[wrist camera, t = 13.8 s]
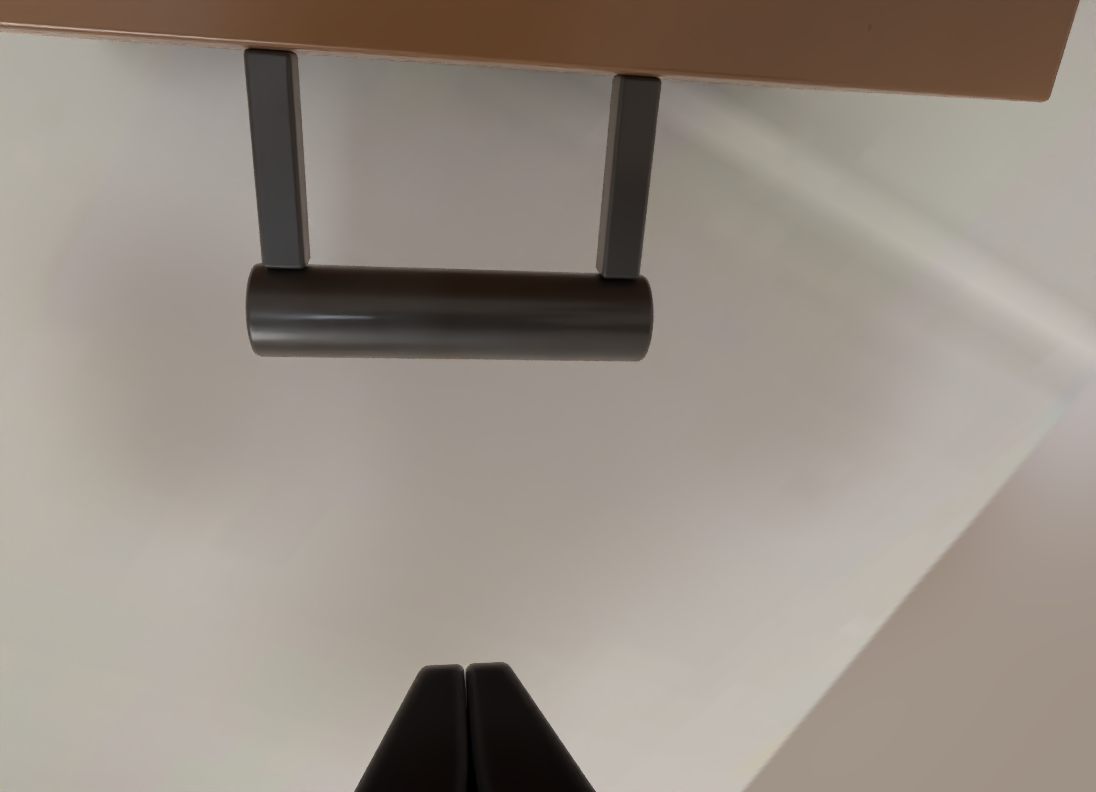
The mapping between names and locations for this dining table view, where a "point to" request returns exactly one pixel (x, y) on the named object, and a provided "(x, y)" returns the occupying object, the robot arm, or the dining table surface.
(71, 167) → the dining table surface
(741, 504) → the dining table surface
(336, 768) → the dining table surface
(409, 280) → the drawer
